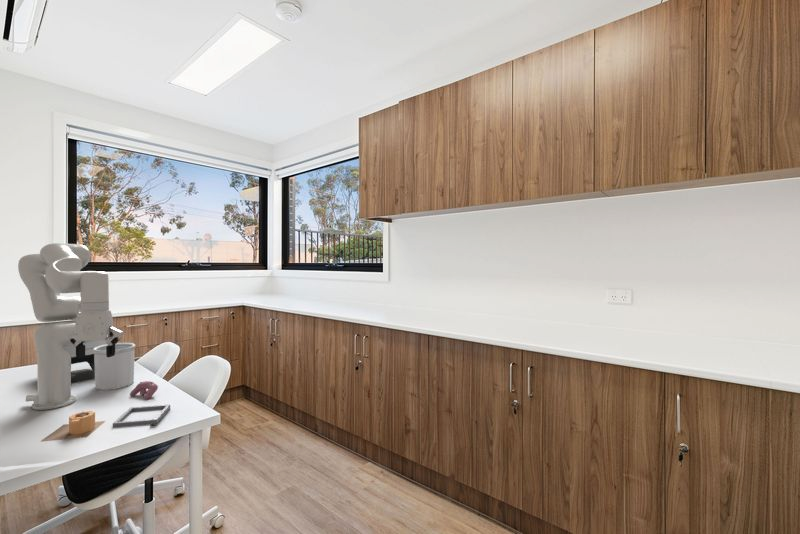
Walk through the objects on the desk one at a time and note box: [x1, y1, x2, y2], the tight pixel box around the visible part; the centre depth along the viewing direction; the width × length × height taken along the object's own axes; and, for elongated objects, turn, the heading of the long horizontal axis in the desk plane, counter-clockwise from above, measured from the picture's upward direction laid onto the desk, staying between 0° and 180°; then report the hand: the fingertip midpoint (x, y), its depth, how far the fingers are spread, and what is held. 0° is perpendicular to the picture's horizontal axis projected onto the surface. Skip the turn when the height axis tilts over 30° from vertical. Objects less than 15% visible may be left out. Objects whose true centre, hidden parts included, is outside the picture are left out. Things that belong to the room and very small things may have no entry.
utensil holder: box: [93, 342, 136, 391], centre depth 166 cm, size 15×15×18 cm
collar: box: [68, 410, 96, 434], centre depth 120 cm, size 6×8×5 cm
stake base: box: [39, 414, 106, 442], centre depth 121 cm, size 12×12×6 cm
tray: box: [112, 404, 171, 428], centre depth 132 cm, size 13×14×2 cm
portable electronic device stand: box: [62, 340, 107, 384], centre depth 180 cm, size 26×24×16 cm
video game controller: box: [129, 380, 159, 400], centre depth 154 cm, size 10×5×7 cm, turn 71°
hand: (95, 356), depth 127 cm, fingers open, 9 cm apart
